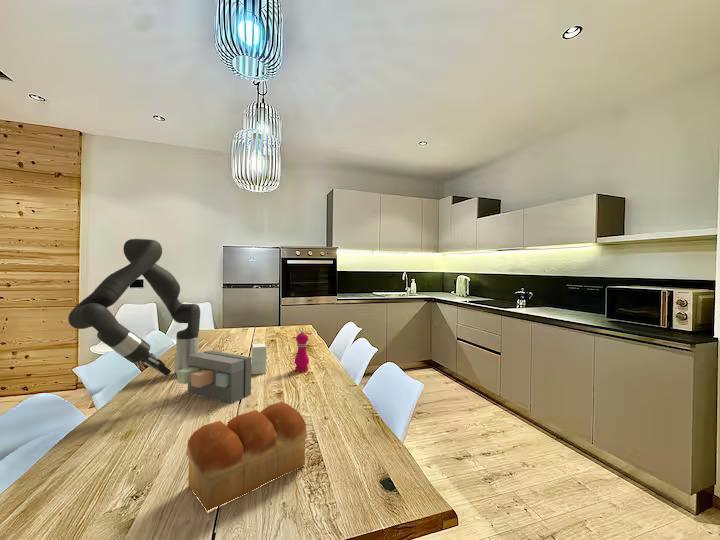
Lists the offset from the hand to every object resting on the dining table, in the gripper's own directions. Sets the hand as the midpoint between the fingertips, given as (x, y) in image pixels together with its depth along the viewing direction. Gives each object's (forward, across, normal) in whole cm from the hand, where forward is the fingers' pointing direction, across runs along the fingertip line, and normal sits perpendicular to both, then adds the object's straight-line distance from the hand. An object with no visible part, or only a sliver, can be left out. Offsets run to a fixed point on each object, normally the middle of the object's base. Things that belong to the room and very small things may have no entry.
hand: (168, 373), depth 121 cm
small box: (+40, +5, -23) cm, 46 cm away
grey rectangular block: (+15, -14, -7) cm, 22 cm away
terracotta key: (+11, -7, -3) cm, 13 cm away
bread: (+3, -60, +14) cm, 62 cm away
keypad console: (+20, -6, -4) cm, 21 cm away
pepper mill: (+50, -9, -34) cm, 61 cm away
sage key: (+10, +1, -2) cm, 10 cm away
